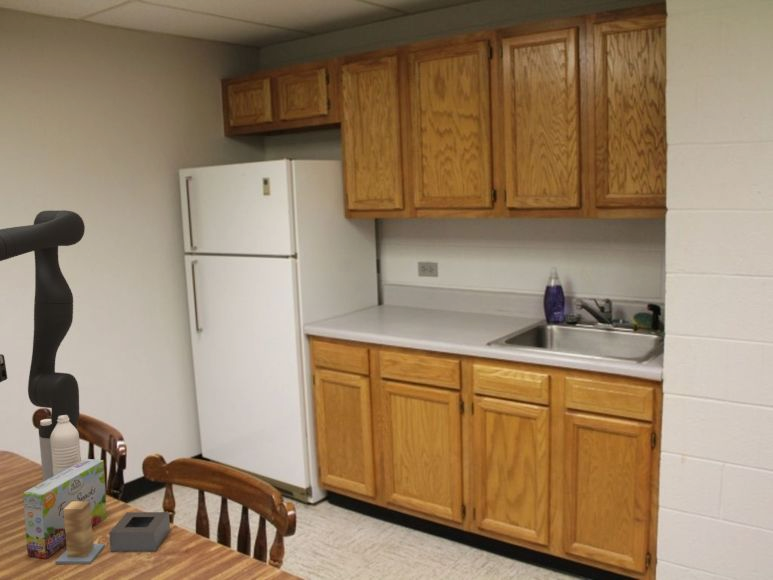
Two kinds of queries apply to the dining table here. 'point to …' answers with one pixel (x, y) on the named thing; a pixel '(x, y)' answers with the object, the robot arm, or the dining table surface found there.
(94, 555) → the rubber mat
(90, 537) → the square peg
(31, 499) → the snack box
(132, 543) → the socket block
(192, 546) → the dining table surface
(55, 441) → the water bottle
